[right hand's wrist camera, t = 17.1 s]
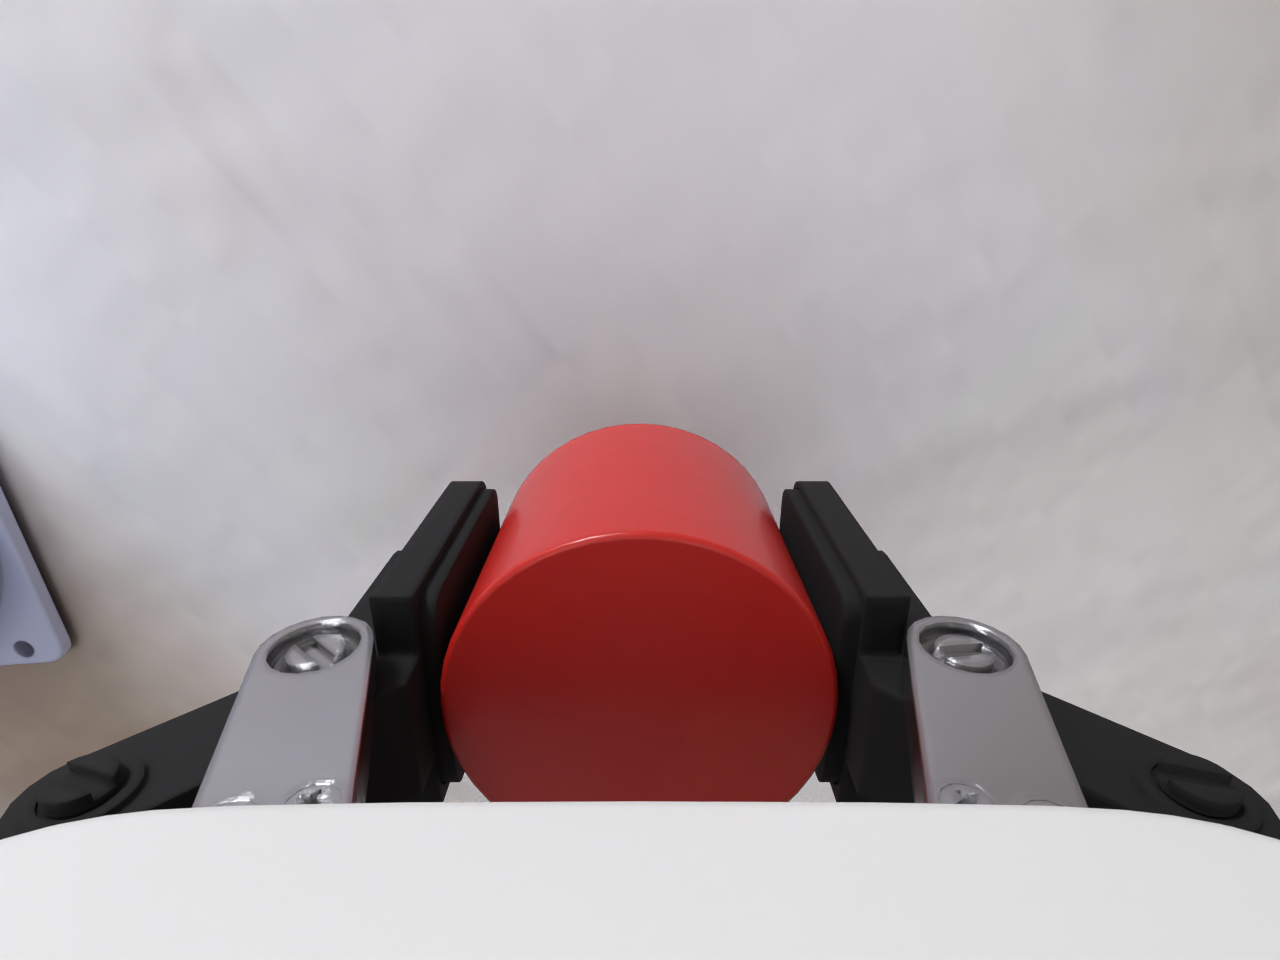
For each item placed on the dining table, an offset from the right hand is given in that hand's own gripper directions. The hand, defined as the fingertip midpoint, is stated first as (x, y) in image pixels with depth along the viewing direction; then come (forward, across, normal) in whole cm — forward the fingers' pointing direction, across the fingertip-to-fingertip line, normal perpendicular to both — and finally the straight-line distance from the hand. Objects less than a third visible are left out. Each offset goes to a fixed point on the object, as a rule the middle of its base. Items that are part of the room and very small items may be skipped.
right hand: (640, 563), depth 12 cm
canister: (0, 0, 0) cm, 0 cm away
